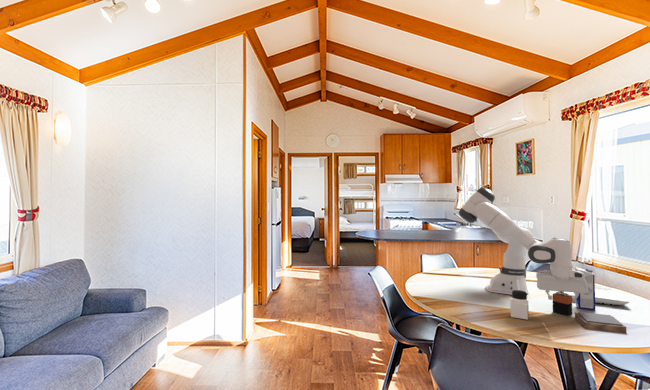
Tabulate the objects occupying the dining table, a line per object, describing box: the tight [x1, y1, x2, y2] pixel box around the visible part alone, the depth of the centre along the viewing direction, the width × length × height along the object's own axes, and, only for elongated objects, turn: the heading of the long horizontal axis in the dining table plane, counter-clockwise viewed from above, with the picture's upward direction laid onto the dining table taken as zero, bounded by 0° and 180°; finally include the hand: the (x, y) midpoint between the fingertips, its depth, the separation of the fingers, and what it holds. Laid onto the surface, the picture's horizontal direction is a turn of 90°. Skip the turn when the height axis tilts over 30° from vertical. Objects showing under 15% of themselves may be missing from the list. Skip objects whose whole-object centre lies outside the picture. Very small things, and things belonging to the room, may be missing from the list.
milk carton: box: [574, 266, 596, 312], centre depth 169 cm, size 7×7×20 cm
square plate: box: [563, 286, 630, 306], centre depth 188 cm, size 27×27×4 cm
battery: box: [552, 291, 573, 317], centre depth 161 cm, size 4×7×10 cm, turn 30°
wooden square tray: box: [574, 311, 627, 334], centre depth 147 cm, size 14×14×3 cm
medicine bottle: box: [510, 290, 529, 321], centre depth 158 cm, size 7×7×12 cm
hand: (561, 300), depth 161 cm, fingers open, 8 cm apart
